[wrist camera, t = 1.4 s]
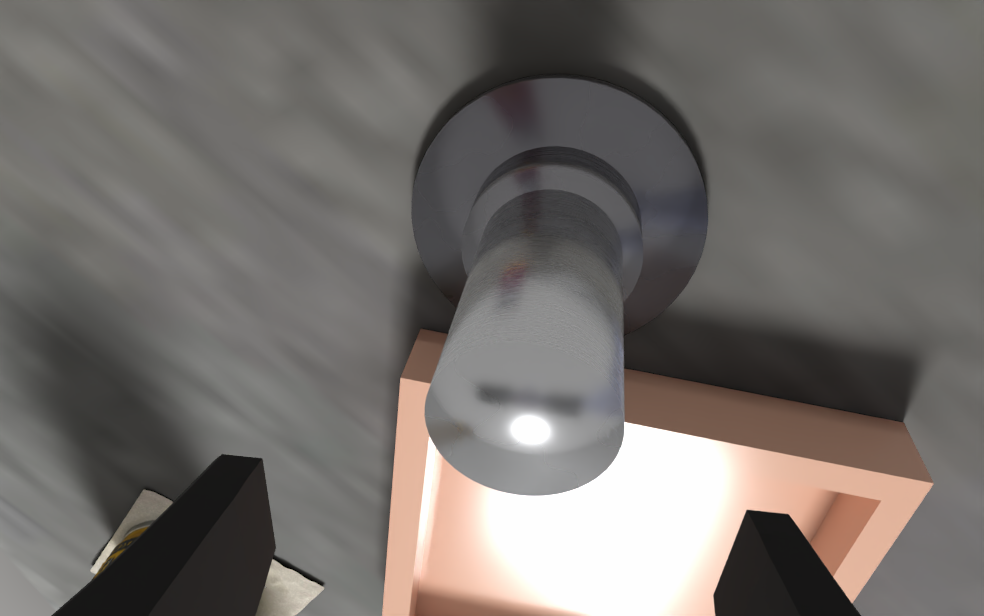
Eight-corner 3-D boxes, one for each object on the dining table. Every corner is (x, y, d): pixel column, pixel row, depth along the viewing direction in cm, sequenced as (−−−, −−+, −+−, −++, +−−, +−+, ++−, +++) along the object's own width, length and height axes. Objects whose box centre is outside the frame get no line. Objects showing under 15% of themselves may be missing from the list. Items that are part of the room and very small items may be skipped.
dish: (903, 422, 22) (933, 483, 20) (743, 686, 30) (752, 748, 28) (420, 328, 23) (400, 377, 20) (394, 610, 31) (378, 666, 29)
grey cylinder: (661, 163, 18) (686, 348, 11) (619, 312, 21) (620, 534, 14) (482, 131, 18) (405, 293, 12) (463, 282, 21) (391, 487, 14)
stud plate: (748, 104, 17) (750, 109, 17) (662, 362, 22) (662, 370, 22) (426, 48, 18) (422, 52, 18) (405, 312, 22) (402, 319, 22)
